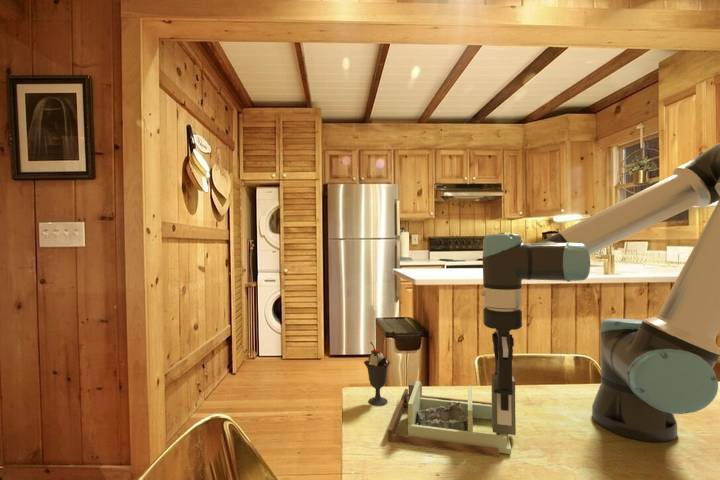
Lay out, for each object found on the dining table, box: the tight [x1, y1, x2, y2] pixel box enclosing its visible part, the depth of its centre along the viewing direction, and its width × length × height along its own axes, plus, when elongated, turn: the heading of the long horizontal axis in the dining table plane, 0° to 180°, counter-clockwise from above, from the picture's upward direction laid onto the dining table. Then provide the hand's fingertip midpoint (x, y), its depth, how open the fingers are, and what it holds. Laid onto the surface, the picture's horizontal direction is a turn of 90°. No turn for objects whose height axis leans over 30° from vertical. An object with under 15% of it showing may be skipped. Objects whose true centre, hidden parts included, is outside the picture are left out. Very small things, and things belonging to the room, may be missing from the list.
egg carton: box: [417, 402, 468, 431], centre depth 82 cm, size 11×8×4 cm
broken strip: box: [406, 380, 480, 404], centre depth 92 cm, size 18×3×5 cm, turn 74°
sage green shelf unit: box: [407, 373, 517, 455], centre depth 81 cm, size 21×14×12 cm, turn 74°
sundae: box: [363, 341, 391, 407], centre depth 96 cm, size 7×7×15 cm
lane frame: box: [387, 388, 500, 458], centre depth 84 cm, size 21×21×2 cm
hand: (503, 419), depth 78 cm, fingers closed on sage green shelf unit, 3 cm apart
